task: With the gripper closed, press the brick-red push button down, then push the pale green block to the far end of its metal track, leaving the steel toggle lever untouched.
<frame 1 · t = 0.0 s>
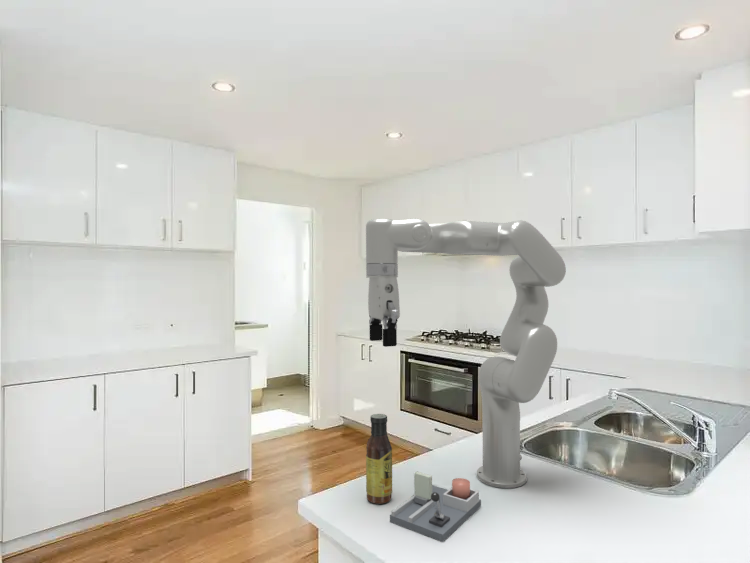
hand: (382, 343, 112), 37 cm above the counter, tool pointing down, fingers open, 9 cm apart
pale green block: (423, 487, 107), point 5 cm above the counter, slide at 0.0 cm
panel: (436, 513, 105), on the counter
sauce bottle: (379, 499, 113), on the counter
toggle: (437, 505, 98), point 5 cm above the counter, hinge at 20.0°
button: (461, 488, 107), point 5 cm above the counter, slide at 0.0 cm
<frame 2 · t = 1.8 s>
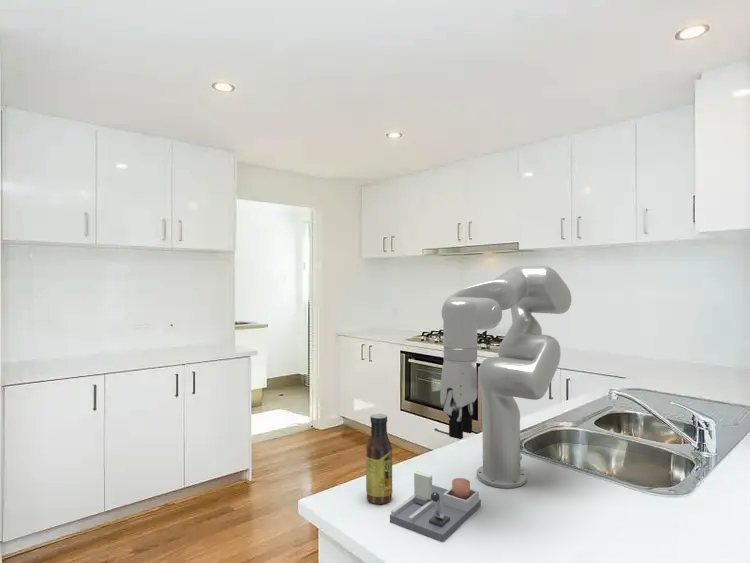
hand: (460, 434, 107), 17 cm above the counter, tool pointing down, fingers open, 3 cm apart
nothing on the counter moved.
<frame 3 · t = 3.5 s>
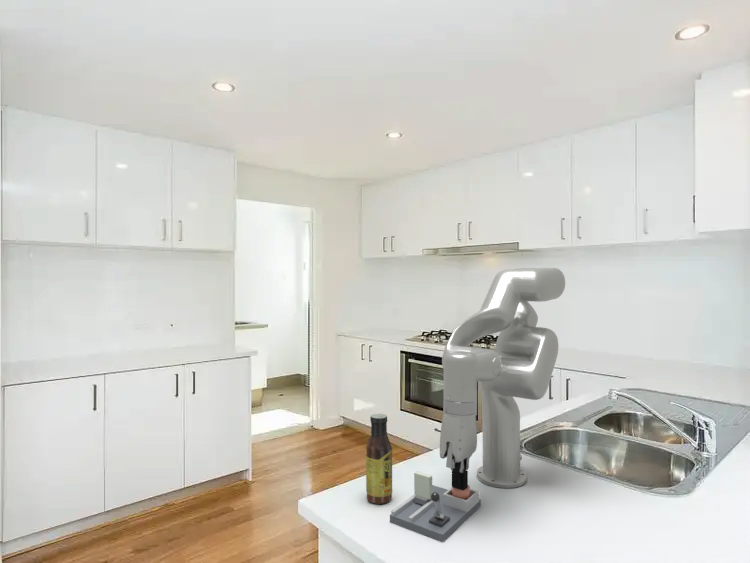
hand: (459, 487, 107), 5 cm above the counter, tool pointing down, fingers closed
button: (461, 493, 107), point 4 cm above the counter, slide at 1.1 cm, touching gripper
everything else where it was.
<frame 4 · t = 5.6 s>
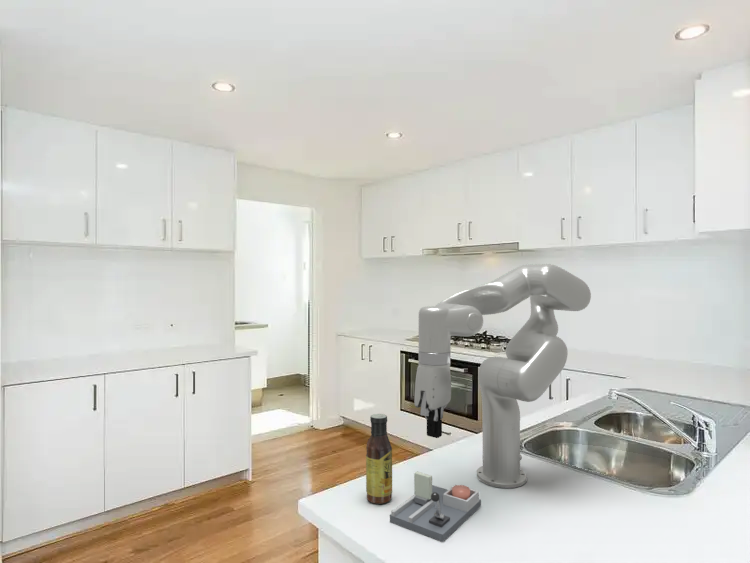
hand: (434, 435, 111), 15 cm above the counter, tool pointing down, fingers closed
button: (461, 495, 107), point 3 cm above the counter, slide at 1.6 cm
everything else where it was.
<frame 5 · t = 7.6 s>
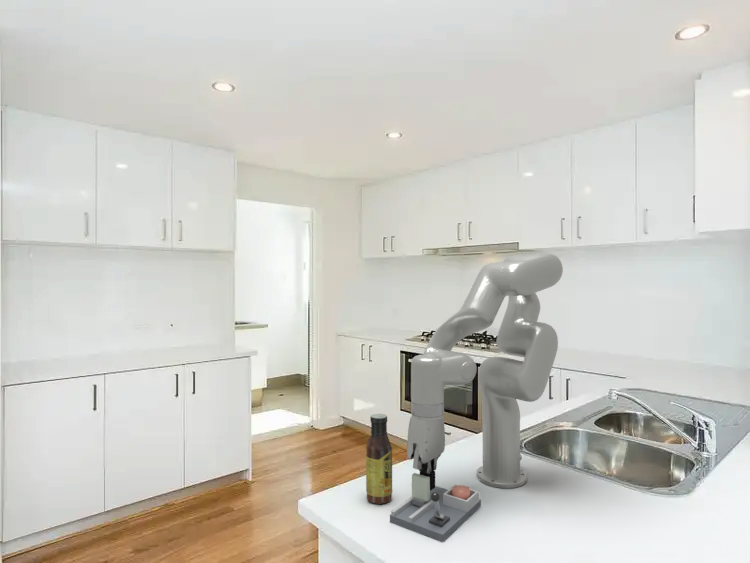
hand: (427, 487, 109), 4 cm above the counter, tool pointing down, fingers closed
pale green block: (420, 489, 106), point 5 cm above the counter, slide at 1.0 cm, touching gripper
everything else where it was.
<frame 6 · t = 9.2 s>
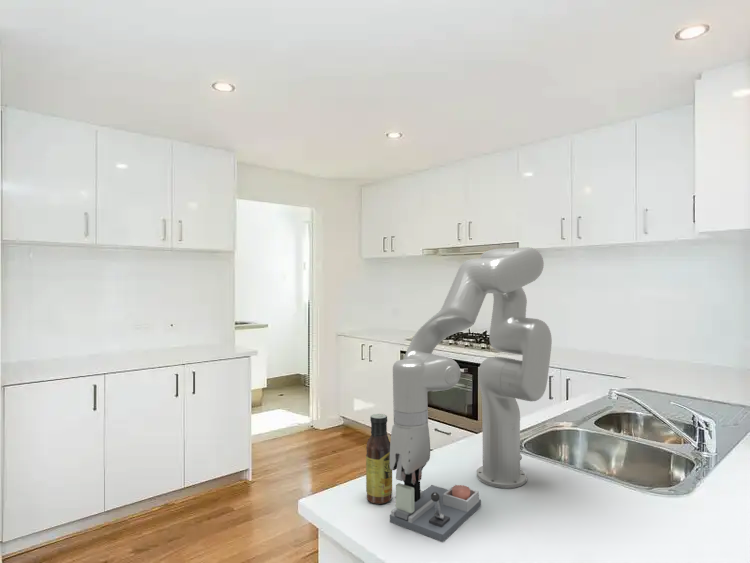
hand: (412, 498, 104), 4 cm above the counter, tool pointing down, fingers closed
pale green block: (405, 500, 101), point 5 cm above the counter, slide at 7.5 cm, touching gripper
everything else where it was.
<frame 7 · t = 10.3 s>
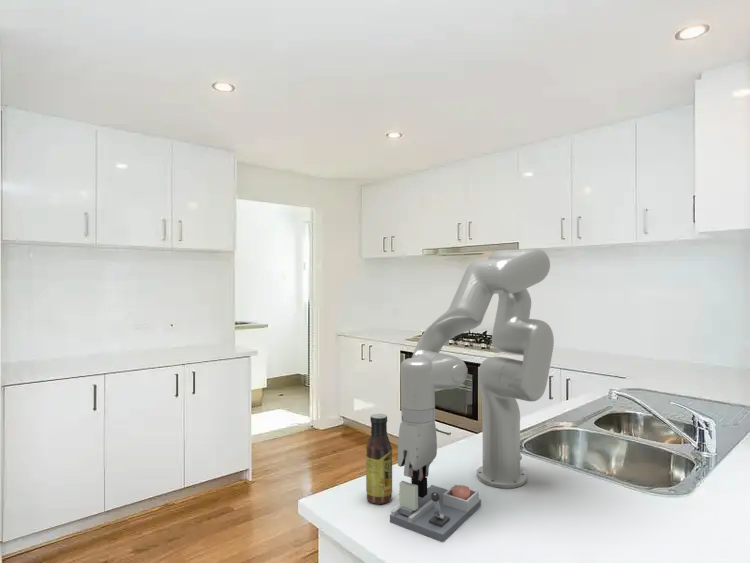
hand: (419, 494, 106), 4 cm above the counter, tool pointing down, fingers closed
pale green block: (408, 498, 102), point 5 cm above the counter, slide at 6.1 cm
everything else where it was.
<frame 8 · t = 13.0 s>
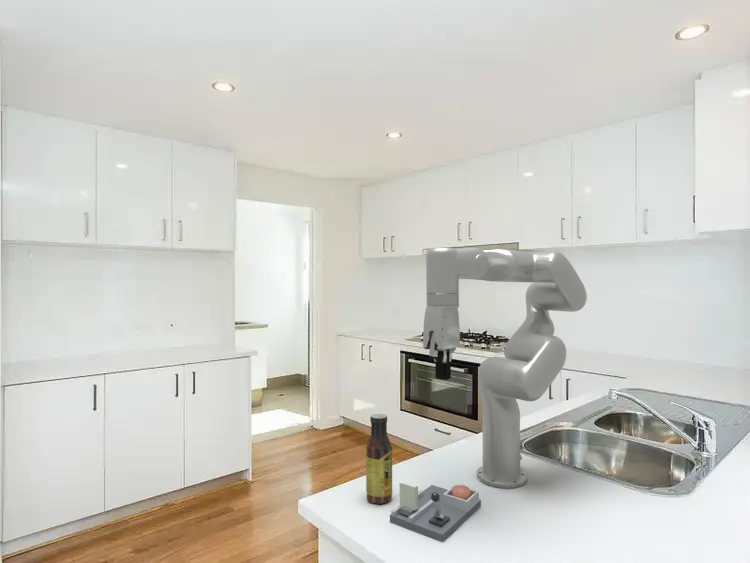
hand: (443, 378, 110), 29 cm above the counter, tool pointing down, fingers closed
nothing on the counter moved.
at the end: button slide at 1.6 cm; pale green block slide at 6.1 cm; toggle at +20° (first picture: +20°) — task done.
